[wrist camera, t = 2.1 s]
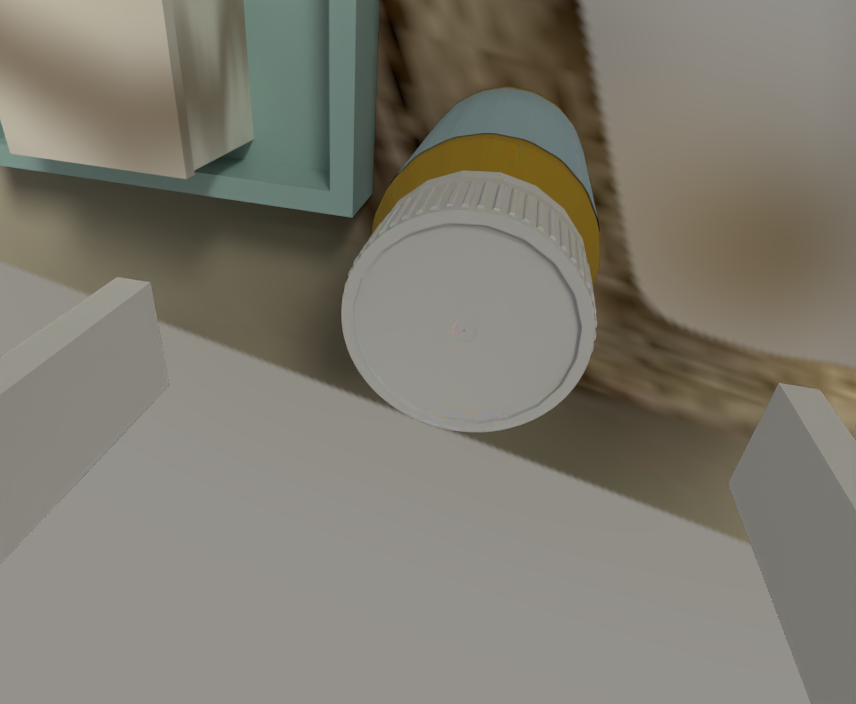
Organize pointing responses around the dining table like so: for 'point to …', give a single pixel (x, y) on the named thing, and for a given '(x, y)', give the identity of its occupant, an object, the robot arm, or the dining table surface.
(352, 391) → the dining table surface
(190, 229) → the dining table surface
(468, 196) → the bottle
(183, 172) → the beige rectangular box
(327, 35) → the tote
